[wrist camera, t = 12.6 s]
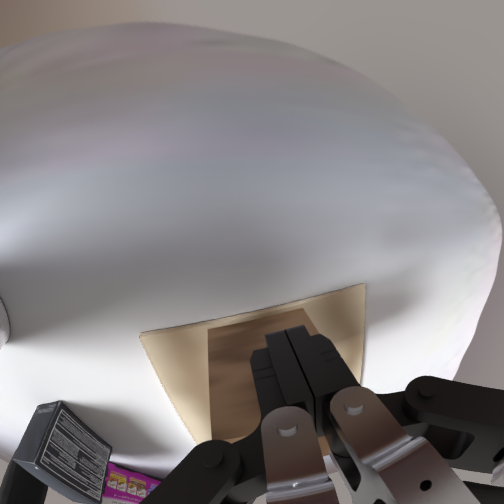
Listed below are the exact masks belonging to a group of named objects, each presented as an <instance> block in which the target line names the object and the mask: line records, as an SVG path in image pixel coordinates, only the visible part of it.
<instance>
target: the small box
mask: <svg viewBox="0 0 504 504" xmlns="http://www.w3.org/2000/svg"><path fill="white" fill-rule="evenodd" d="M111 451H112V447H111V446H110V445H109V444H107V443H106V442H105V441H104V440H103V439H101V438H100V437H99V436H98V435H96V434H95V433H94V432H93V431H92V430H91V429H89V428H88V427H87V426H86V425H85V424H84V423H83V422H82V421H81V420H79V419H78V418H77V417H76V416H75V415H74V414H73V413H72V412H71V411H70V410H69V409H68V408H67V407H66V406H65V405H64V404H63V403H62V402H60V401H58V402H53V403H49V404H42V405H39V406H37V408H36V410H35V413H34V415H33V416H32V419H31V421H30V423H29V425H28V427H27V429H26V431H25V433H24V435H23V437H22V440H21V442H20V444H19V446H18V449H17V451H16V453H15V456H14V458H13V460H14V461H15V462H16V463H18V464H19V465H20V466H21V467H23V468H24V469H25V470H27V471H28V472H29V473H30V474H32V475H33V476H35V477H36V478H37V479H39V480H40V481H42V482H43V483H44V484H46V485H47V486H49V487H50V488H52V489H54V490H55V491H57V492H58V493H60V494H62V495H63V496H65V497H66V498H68V499H70V500H72V501H74V502H79V503H83V504H102V496H103V490H104V484H105V479H106V474H107V469H108V464H109V459H110V455H111Z"/></svg>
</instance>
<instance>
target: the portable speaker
mask: <svg viewBox="0 0 504 504" xmlns="http://www.w3.org/2000/svg"><path fill="white" fill-rule="evenodd" d="M17 449H18V448H17ZM16 451H17V450H16ZM15 453H16V452H15ZM15 453H14V455H13V457H12V459H11V461H10V463H9V465H8V468H7V470H6V473H5V475H4V478H3V481H2V484H1V487H0V504H44V501H45V498H46V494H47V490H48V486H47V485H46V484H44V483H43V482H42V481H40V480H39V479H37V478H36V477H35V476H33V475H32V474H30V473H29V472H28V471H27V470H25V469H24V468H23V467H21V466H20V465H19V464H18V463H16V462H15V461H14V460H13V458H14V456H15Z"/></svg>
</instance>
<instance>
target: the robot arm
mask: <svg viewBox="0 0 504 504" xmlns="http://www.w3.org/2000/svg"><path fill="white" fill-rule="evenodd" d="M9 335H10V327H9V320H8V317H7V313H6V310H5V308H4V305H3V303H2V301H1V299H0V349H1V348H2V346H3V345H4V344H5V343H6V342H7V340H8V339H9ZM264 337H265V342H266V348H262V349H258V350H253V353H252V356H251V358H250V365H251V370H252V375H253V379H254V384H255V389H256V393H257V398H258V403H259V407H260V412H261V420H260V423H259V425H258V427H257V428H256V429H255V430H254V431H253V432H252V433H251V434H250V435H248V436H247V437H245V438H243V439H241V440H238V441H236V442H234V443H232V444H231V443H229V442H227V441H224V440H208V441H205V442H202V443H200V444H198V445H197V446H196V447H194V448H193V449H192V450H191V452H190V453H189V454H188V455H187V456H186V457H185V458H184V459H183V460H182V461H181V462H180V463H179V464H178V465H177V466H176V468H175V469H174V470H173V471H172V472H171V473H170V474H169V475H168V476H167V477H166V478H165V479H164V480H163V481H162V482H161V483H160V484H159V485H158V486H157V487H156V488H155V489H154V490H153V491H151V492H150V493H149V494H148V495H147V496H146V497H145V498H144V499H143V500H142V501H141V502H140V503H139V504H252V503H253V502H254V501H255V499H256V498H257V497H259V496H261V495H263V494H265V493H266V502H267V504H339V500H338V497H337V493H336V490H335V487H334V484H333V482H332V480H331V479H330V478H329V476H328V473H327V470H326V466H325V463H324V459H323V456H322V452H321V448H320V445H319V441H318V438H319V437H322V436H325V438H326V440H327V442H328V453H329V455H330V457H331V459H332V461H333V463H334V465H335V467H336V468H337V470H338V472H339V474H340V476H341V477H342V479H343V481H344V483H345V485H346V487H347V489H348V490H349V492H350V495H351V498H352V503H353V504H504V390H500V389H494V388H487V387H482V386H476V385H471V384H466V383H461V382H456V381H451V380H446V379H442V378H437V377H433V376H421V377H418V378H415V379H413V380H412V381H411V382H410V383H409V384H408V385H407V387H406V389H405V391H401V392H395V393H389V394H375V393H374V392H373V391H371V390H370V389H368V388H365V387H361V386H360V384H359V383H358V381H357V380H356V378H355V377H354V375H353V373H352V372H351V370H350V369H349V367H348V366H347V364H346V363H345V361H344V360H343V358H341V355H340V353H339V352H338V350H336V347H335V346H334V344H333V343H332V341H331V340H330V339H329V338H327V337H325V336H324V335H322V334H316V335H313V336H310V334H309V332H308V331H307V329H306V327H305V326H304V325H299V326H296V327H292V328H288V329H285V330H280V331H276V332H272V333H267V334H264ZM451 467H452V468H457V469H463V470H468V471H474V472H482V473H489V474H493V476H492V478H491V484H492V485H486V484H479V483H474V482H469V481H462V480H461V479H460V478H459V477H458V476H457V475H456V473H455V472H454V471H453V470H452V468H451ZM498 485H499V486H498ZM500 486H501V487H500Z"/></svg>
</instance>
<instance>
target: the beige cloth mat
mask: <svg viewBox="0 0 504 504" xmlns="http://www.w3.org/2000/svg"><path fill="white" fill-rule="evenodd" d="M365 300H366V286H365V285H364V284H363V283H362V284H359V285H355V286H352V287H348V288H345V289H341V290H338V291H334V292H330V293H327V294H323V295H319V296H315V297H312V298H308V299H304V300H300V301H296V302H292V303H288V304H284V305H280V306H275V307H271V308H267V309H262V310H258V311H254V312H249V313H245V314H240V315H235V316H231V317H226V318H221V319H216V320H211V321H206V322H201V323H195V324H190V325H184V326H179V327H173V328H167V329H161V330H155V331H149V332H143V333H140V335H139V338H140V340H141V342H142V345H143V347H144V349H145V351H146V354H147V356H148V358H149V360H150V362H151V364H152V366H153V368H154V370H155V372H156V374H157V376H158V378H159V380H160V382H161V384H162V386H163V388H164V390H165V392H166V394H167V395H168V397H169V399H170V401H171V403H172V404H173V406H174V408H175V410H176V411H177V413H178V415H179V417H180V418H181V420H182V422H183V423H184V425H185V427H186V428H187V430H188V432H189V433H190V435H191V436H192V438H193V439H194V441H195V443H196V444H197V445H198V444H200V443H202V442H205V441H208V440H212V437H211V420H210V401H209V375H208V329H212V328H217V327H222V326H227V325H232V324H236V323H241V322H246V321H250V320H255V319H259V318H263V317H268V316H272V315H276V314H280V313H284V312H289V311H293V310H296V309H300V308H303V309H304V311H305V312H306V314H307V315H308V317H309V318H310V320H311V321H312V323H313V324H314V326H315V327H316V329H317V330H318V332H319V333H320V334H322V335H324V336H325V337H327V338H329V339H330V340H331V341H332V343H333V344H334V346H335V347H336V350H338V352H339V353H340V355H341V358H343V360H344V361H345V363H346V364H347V366H348V367H349V369H350V370H351V372H352V373H353V375H354V377H355V378H356V380H357V381H358V383H359V384H360V377H361V368H362V357H363V344H364V328H365Z"/></svg>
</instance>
